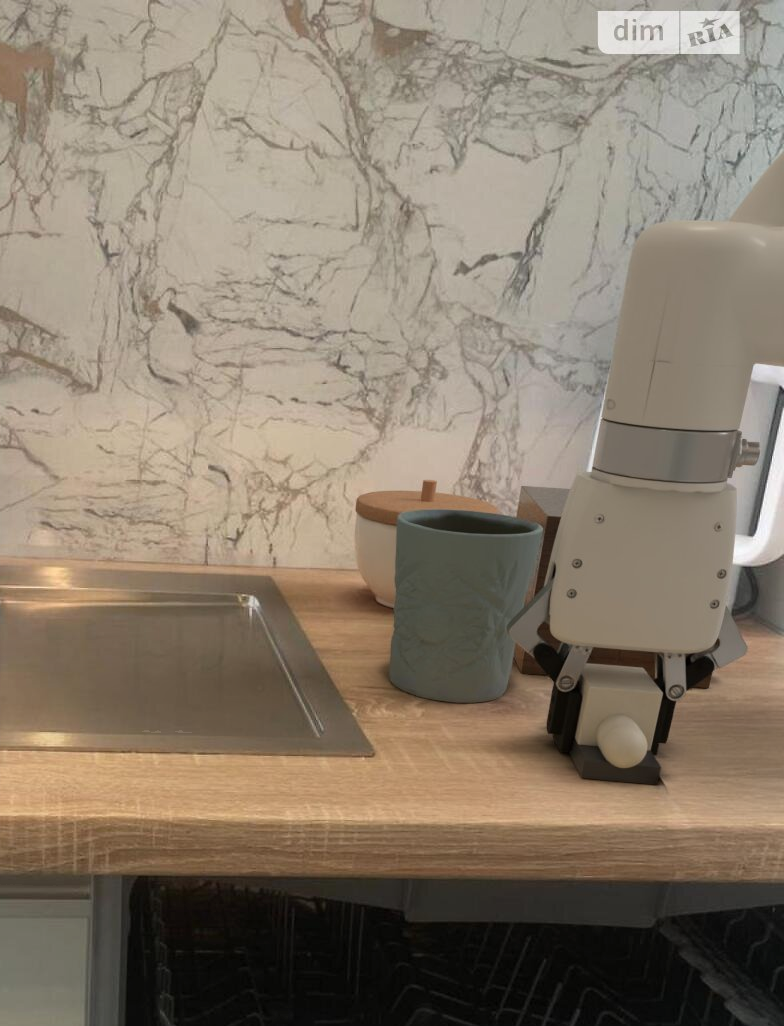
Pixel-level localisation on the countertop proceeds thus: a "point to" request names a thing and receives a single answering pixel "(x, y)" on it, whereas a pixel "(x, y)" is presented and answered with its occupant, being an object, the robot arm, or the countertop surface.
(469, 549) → the grey-green ceramic cup
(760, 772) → the countertop surface
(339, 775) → the countertop surface
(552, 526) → the stepped wooden block
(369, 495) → the lidded bowl
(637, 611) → the robot arm
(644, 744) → the cream and grey block
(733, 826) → the countertop surface
